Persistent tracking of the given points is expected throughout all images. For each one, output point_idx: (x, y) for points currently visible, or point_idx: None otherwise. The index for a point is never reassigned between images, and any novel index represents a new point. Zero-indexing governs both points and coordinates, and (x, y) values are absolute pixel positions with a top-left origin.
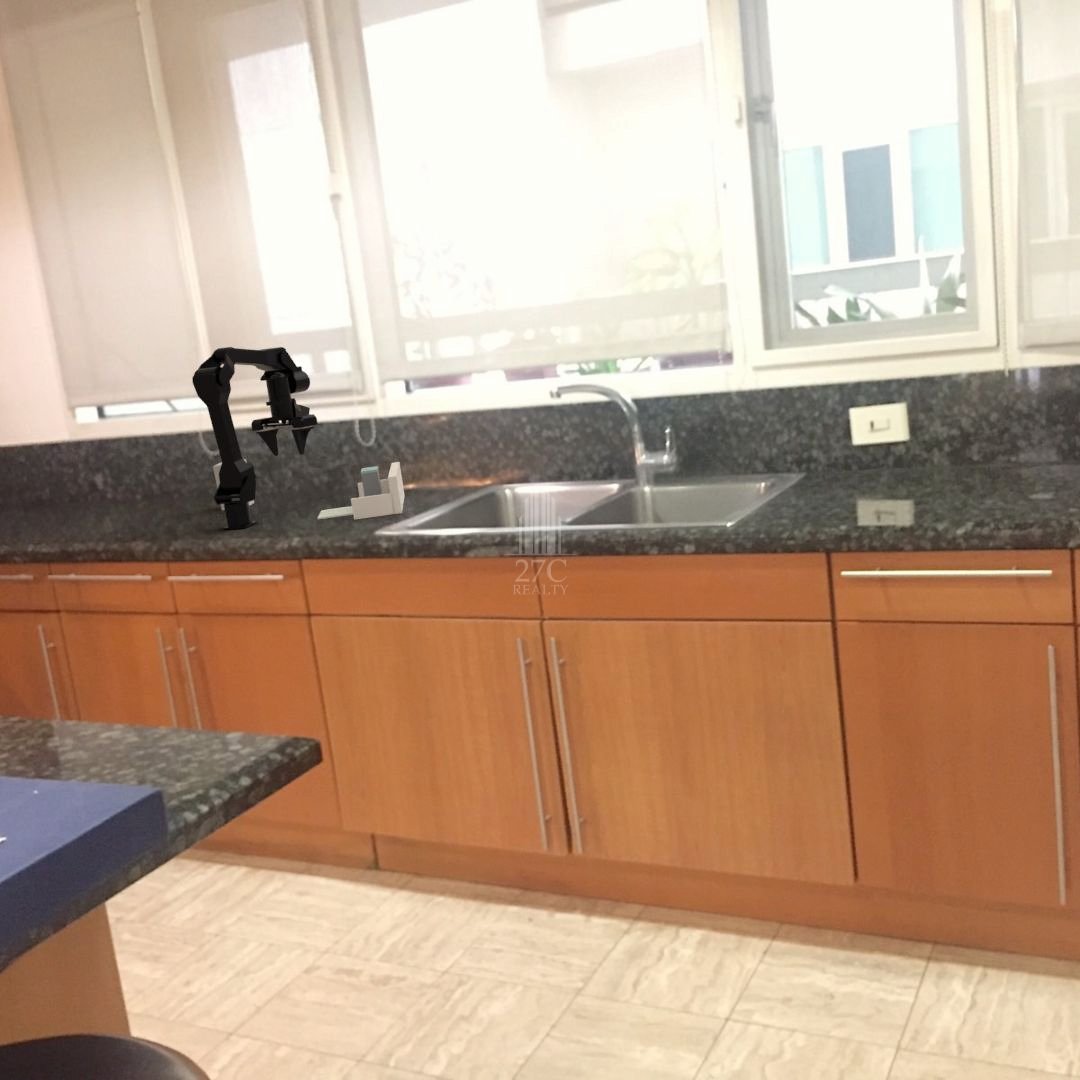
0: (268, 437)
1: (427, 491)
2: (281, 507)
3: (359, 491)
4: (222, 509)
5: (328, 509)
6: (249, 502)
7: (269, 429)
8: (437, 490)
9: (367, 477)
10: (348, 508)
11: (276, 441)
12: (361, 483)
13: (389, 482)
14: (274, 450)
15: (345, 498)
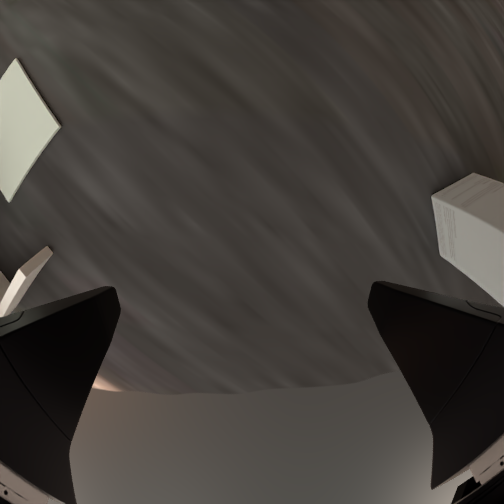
0: (484, 357)
1: None
2: (300, 185)
3: (31, 259)
4: (473, 173)
5: (46, 139)
6: (439, 225)
7: (502, 442)
8: None
9: None
10: (6, 160)
11: (413, 385)
12: (16, 274)
13: None
14: (392, 303)
15: (145, 299)
